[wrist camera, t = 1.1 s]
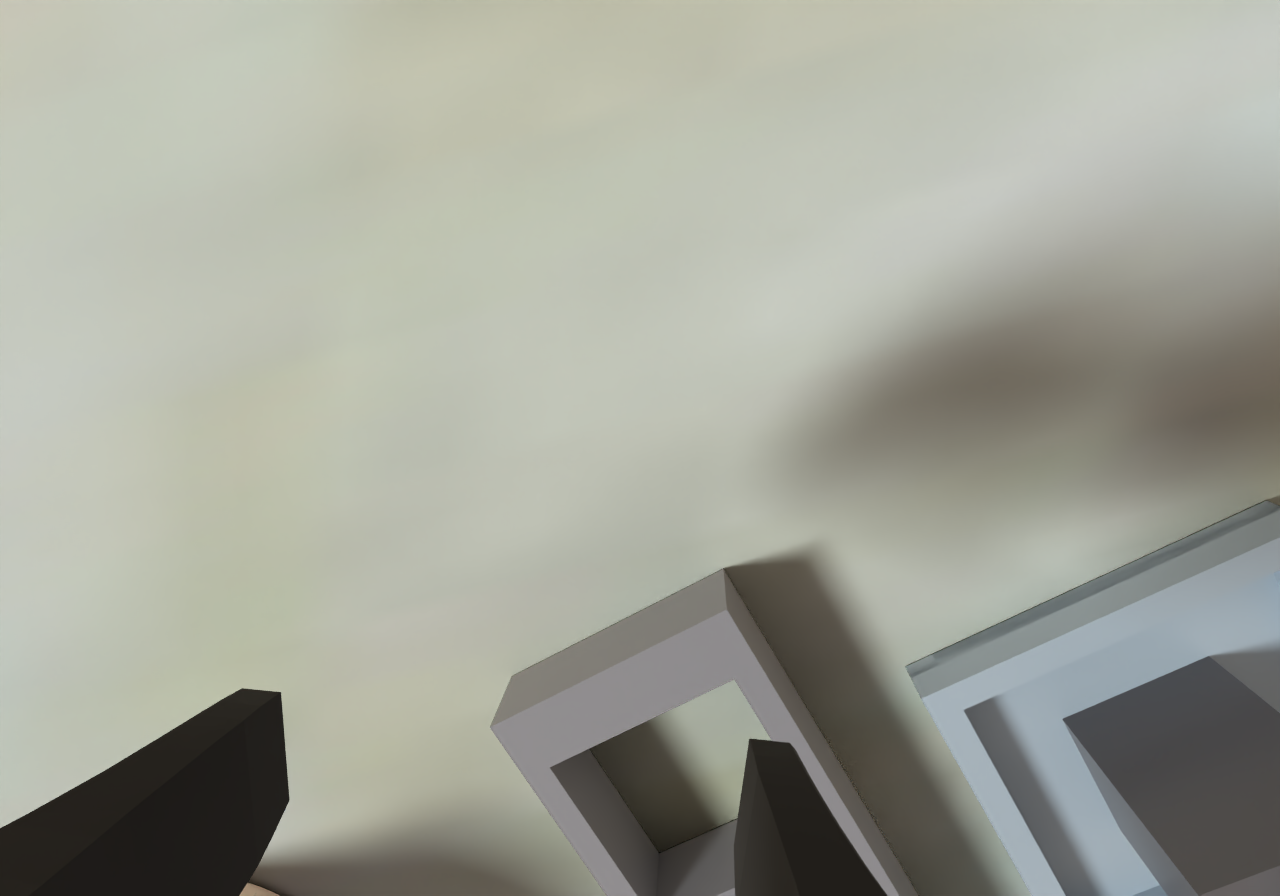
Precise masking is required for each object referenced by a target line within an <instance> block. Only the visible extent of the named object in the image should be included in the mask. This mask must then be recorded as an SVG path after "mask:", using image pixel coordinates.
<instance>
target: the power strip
mask: <svg viewBox="0 0 1280 896" xmlns="http://www.w3.org/2000/svg"><path fill="white" fill-rule="evenodd" d="M734 679H735V681H736V683H737V684H738V686H739V688H740V689H741V691H742V692H743V694H744V696H745V697H746V699H747V701H748V702H749V704H750V705H751V707H752V709H753V710H754V712H755V714H756V715H757V717H758V719H759V720H760V722H761V723H762V725H763V727H764V728H765V730H766V732H767V733H768V735H769V736H770V738H771V740H772V741H777V742H788V743H790V744H791V745H792V746H793V747H794V748H795V750H796V751H797V753H798V755H799V757H800V759H801V761H802V762H803V764H804V766H805V768H806V770H807V772H808V773H809V775H810V777H811V779H812V780H813V782H814V784H815V786H816V787H817V789H818V791H819V793H820V794H821V796H822V798H823V799H824V801H825V803H826V804H827V806H828V808H829V809H830V811H831V812H832V814H833V816H834V817H835V819H836V820H837V822H838V824H839V825H840V827H841V828H842V830H843V831H844V833H845V834H846V836H847V837H848V839H849V841H850V842H851V844H852V845H853V847H854V848H855V850H856V851H857V853H858V854H859V856H860V857H861V859H862V860H863V862H864V863H865V865H866V866H867V867H868V869H869V870H870V872H871V873H872V875H873V876H874V877H875V879H876V880H877V882H878V883H879V884H880V886H881V887H882V888H883V890H884V891H885V892H886V894H887V895H888V896H919V895H918V894H917V892H916V890H915V889H914V887H913V885H912V884H911V882H910V880H909V879H908V877H907V875H906V874H905V872H904V870H903V869H902V867H901V865H900V864H899V862H898V860H897V859H896V857H895V855H894V854H893V852H892V850H891V849H890V847H889V845H888V844H887V842H886V840H885V838H884V837H883V835H882V833H881V832H880V830H879V828H878V827H877V825H876V823H875V822H874V820H873V818H872V817H871V815H870V813H869V812H868V810H867V808H866V807H865V805H864V803H863V802H862V800H861V798H860V797H859V795H858V793H857V792H856V790H855V788H854V787H853V785H852V783H851V782H850V780H849V778H848V777H847V775H846V773H845V771H844V770H843V768H842V766H841V765H840V763H839V761H838V760H837V758H836V756H835V755H834V753H833V751H832V750H831V748H830V746H829V745H828V743H827V741H826V740H825V738H824V736H823V735H822V733H821V731H820V730H819V728H818V726H817V725H816V723H815V721H814V720H813V718H812V716H811V715H810V713H809V711H808V710H807V708H806V706H805V704H804V703H803V701H802V699H801V698H800V696H799V694H798V693H797V691H796V689H795V688H794V686H793V684H792V683H791V681H790V679H789V678H788V676H787V674H786V673H785V671H784V669H783V668H782V666H781V664H780V663H779V661H778V659H777V658H776V656H775V654H774V653H773V651H772V649H771V648H770V646H769V644H768V642H767V641H766V639H765V637H764V636H763V634H762V632H761V631H760V629H759V627H758V626H757V624H756V622H755V621H754V619H753V617H752V616H751V614H750V612H749V611H748V609H747V607H746V606H745V604H744V602H743V601H742V599H741V597H740V596H739V594H738V592H737V591H736V589H735V587H734V586H733V584H732V582H731V581H730V579H729V577H728V575H727V574H726V572H725V570H724V569H722V570H720V571H718V572H716V573H714V574H712V575H710V576H708V577H706V578H704V579H702V580H700V581H698V582H696V583H694V584H692V585H690V586H688V587H686V588H684V589H682V590H680V591H678V592H677V593H675V594H673V595H671V596H669V597H667V598H665V599H663V600H661V601H659V602H657V603H655V604H653V605H651V606H649V607H647V608H645V609H643V610H641V611H639V612H637V613H635V614H633V615H631V616H629V617H627V618H625V619H623V620H622V621H620V622H618V623H616V624H614V625H612V626H610V627H608V628H606V629H604V630H602V631H600V632H598V633H596V634H594V635H592V636H590V637H588V638H586V639H584V640H582V641H580V642H578V643H576V644H574V645H572V646H570V647H568V648H566V649H565V650H563V651H561V652H559V653H557V654H555V655H553V656H551V657H549V658H547V659H545V660H543V661H541V662H539V663H537V664H535V665H533V666H531V667H529V668H527V669H525V670H523V671H521V672H519V673H517V674H515V675H513V676H512V677H511V679H510V682H509V684H508V686H507V689H506V691H505V693H504V696H503V698H502V700H501V703H500V705H499V707H498V710H497V712H496V714H495V717H494V719H493V721H492V724H491V726H490V728H491V730H492V731H493V733H494V734H495V735H496V737H497V738H498V740H499V741H500V743H501V744H502V746H503V747H504V748H505V750H506V751H507V753H508V754H509V756H510V757H511V759H512V760H513V761H514V763H515V764H516V766H517V767H518V769H519V770H520V772H521V773H522V774H523V776H524V777H525V779H526V780H527V782H528V783H529V784H530V786H531V787H532V789H533V790H534V792H535V793H536V795H537V796H538V797H539V799H540V800H541V802H542V803H543V805H544V806H545V808H546V809H547V810H548V812H549V813H550V815H551V816H552V818H553V819H554V820H555V822H556V823H557V825H558V826H559V828H560V829H561V831H562V832H563V833H564V835H565V836H566V838H567V839H568V841H569V842H570V844H571V845H572V846H573V848H574V849H575V851H576V852H577V854H578V855H579V856H580V858H581V859H582V861H583V862H584V864H585V865H586V867H587V868H588V869H589V871H590V872H591V874H592V875H593V877H594V878H595V880H596V881H597V882H598V884H599V885H600V887H601V888H602V890H603V891H604V893H605V894H606V895H607V896H735V876H734V840H735V833H736V827H737V820H738V819H736V820H734V821H732V822H729V823H727V824H725V825H723V826H720V827H718V828H716V829H714V830H711V831H709V832H707V833H704V834H702V835H700V836H698V837H695V838H693V839H691V840H689V841H686V842H684V843H682V844H679V845H677V846H675V847H673V848H670V849H668V850H666V851H664V852H661V853H658V851H657V850H656V848H655V847H654V845H653V844H652V842H651V841H650V839H649V838H648V836H647V835H646V833H645V832H644V830H643V829H642V827H641V826H640V824H639V823H638V821H637V820H636V818H635V817H634V815H633V814H632V812H631V811H630V809H629V808H628V806H627V805H626V803H625V802H624V800H623V799H622V797H621V796H620V794H619V793H618V791H617V790H616V788H615V787H614V785H613V784H612V782H611V781H610V779H609V778H608V776H607V775H606V773H605V772H604V770H603V769H602V767H601V766H600V764H599V763H598V761H597V760H596V758H595V757H594V755H593V754H592V752H591V751H590V750H589V748H592V747H594V746H596V745H598V744H600V743H602V742H604V741H606V740H608V739H610V738H612V737H615V736H617V735H619V734H621V733H623V732H625V731H627V730H629V729H631V728H633V727H635V726H638V725H640V724H642V723H644V722H646V721H648V720H650V719H652V718H654V717H656V716H658V715H661V714H663V713H665V712H667V711H669V710H671V709H673V708H675V707H677V706H679V705H681V704H684V703H686V702H688V701H690V700H692V699H694V698H696V697H698V696H700V695H702V694H704V693H707V692H709V691H711V690H713V689H715V688H717V687H719V686H721V685H723V684H725V683H728V682H730V681H732V680H734Z"/></svg>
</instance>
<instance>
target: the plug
mask: <svg viewBox="0 0 1280 896" xmlns="http://www.w3.org/2000/svg"><path fill="white" fill-rule="evenodd" d="M1063 721H1064V723H1065V725H1066V727H1067V729H1068V731H1069V733H1070V735H1071V737H1072V739H1073V740H1074V742H1075V744H1076V746H1077V748H1078V750H1079V752H1080V754H1081V756H1082V758H1083V760H1084V762H1085V763H1086V765H1087V767H1088V769H1089V771H1090V773H1091V775H1092V777H1093V779H1094V781H1095V783H1096V784H1097V786H1098V788H1099V790H1100V792H1101V794H1102V796H1103V798H1104V800H1105V802H1106V804H1107V805H1108V807H1109V809H1110V811H1111V813H1112V815H1113V817H1114V819H1115V821H1116V823H1117V825H1118V826H1119V828H1120V830H1121V832H1122V833H1123V834H1124V836H1125V837H1126V839H1127V840H1128V841H1129V843H1130V844H1131V845H1132V847H1133V848H1134V850H1135V851H1136V852H1137V854H1138V855H1139V857H1140V858H1141V859H1142V861H1143V862H1144V863H1145V865H1146V866H1147V868H1148V869H1149V870H1150V872H1151V873H1152V875H1153V876H1154V877H1155V879H1156V880H1157V881H1158V883H1159V884H1160V886H1161V887H1162V888H1163V890H1164V891H1165V892H1166V894H1167V895H1168V896H1280V713H1279V712H1278V711H1277V710H1275V709H1274V708H1273V707H1272V706H1270V705H1269V704H1268V703H1267V702H1265V701H1264V700H1263V699H1262V698H1261V697H1259V696H1258V695H1257V694H1256V693H1254V692H1253V691H1252V690H1251V689H1249V688H1248V687H1247V686H1246V685H1244V684H1243V683H1242V682H1241V681H1239V680H1238V679H1237V678H1236V677H1234V676H1233V675H1232V674H1231V673H1229V672H1228V671H1227V670H1226V669H1224V668H1223V667H1222V666H1221V665H1219V664H1218V663H1217V662H1216V661H1214V660H1213V659H1212V658H1211V657H1209V656H1207V657H1205V658H1203V659H1200V660H1198V661H1196V662H1193V663H1191V664H1189V665H1187V666H1184V667H1182V668H1180V669H1177V670H1175V671H1173V672H1170V673H1168V674H1166V675H1163V676H1161V677H1159V678H1156V679H1154V680H1152V681H1149V682H1147V683H1145V684H1142V685H1140V686H1138V687H1135V688H1133V689H1131V690H1128V691H1126V692H1124V693H1121V694H1119V695H1117V696H1114V697H1112V698H1110V699H1107V700H1105V701H1103V702H1100V703H1098V704H1096V705H1093V706H1091V707H1089V708H1086V709H1084V710H1082V711H1079V712H1077V713H1075V714H1072V715H1070V716H1068V717H1065V718H1063Z"/></svg>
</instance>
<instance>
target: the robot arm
mask: <svg viewBox="0 0 1280 896" xmlns="http://www.w3.org/2000/svg"><path fill="white" fill-rule="evenodd" d="M288 802H289V790H288V777H287V764H286V752H285V739H284V726H283V713H282V701H281V692H272V691H262V690H252V689H240V690H238V691H237V692H235V693H233V694H231V695H229V696H227V697H226V698H224V699H222V700H221V701H219V702H217V703H216V704H214V705H212V706H211V707H209V708H207V709H206V710H204V711H202V712H201V713H199V714H197V715H196V716H194V717H192V718H191V719H189V720H188V721H186V722H184V723H183V724H181V725H179V726H178V727H176V728H175V729H173V730H171V731H170V732H168V733H166V734H165V735H163V736H162V737H160V738H158V739H157V740H155V741H153V742H152V743H150V744H148V745H147V746H145V747H143V748H142V749H140V750H138V751H137V752H135V753H133V754H132V755H130V756H129V757H127V758H125V759H124V760H122V761H120V762H119V763H117V764H115V765H114V766H112V767H110V768H109V769H107V770H105V771H104V772H102V773H100V774H98V775H96V776H95V777H93V778H91V779H89V780H87V781H86V782H84V783H82V784H80V785H79V786H77V787H75V788H73V789H71V790H70V791H68V792H66V793H64V794H63V795H61V796H59V797H57V798H55V799H54V800H52V801H50V802H48V803H46V804H45V805H43V806H41V807H39V808H38V809H36V810H34V811H32V812H30V813H29V814H27V815H25V816H23V817H21V818H19V819H17V820H15V821H13V822H11V823H10V824H8V825H6V826H4V827H2V828H0V896H239V895H240V894H241V892H242V891H243V889H244V887H245V886H246V884H247V883H248V881H249V879H250V878H251V876H252V875H253V873H254V871H255V870H256V868H257V866H258V865H259V863H260V861H261V859H262V857H263V854H264V852H265V850H266V848H267V846H268V844H269V842H270V840H271V838H272V836H273V834H274V832H275V830H276V828H277V826H278V823H279V821H280V819H281V817H282V815H283V813H284V811H285V808H286V806H287V804H288ZM734 876H735V896H888V895H887V894H886V892H885V891H884V890H883V888H882V887H881V886H880V884H879V883H878V882H877V880H876V879H875V877H874V876H873V875H872V873H871V872H870V870H869V869H868V867H867V866H866V865H865V863H864V862H863V860H862V859H861V857H860V856H859V854H858V853H857V851H856V850H855V848H854V847H853V845H852V844H851V842H850V841H849V839H848V837H847V836H846V834H845V833H844V831H843V830H842V828H841V827H840V825H839V824H838V822H837V820H836V819H835V817H834V816H833V814H832V812H831V811H830V809H829V808H828V806H827V804H826V803H825V801H824V799H823V798H822V796H821V794H820V793H819V791H818V789H817V787H816V786H815V784H814V782H813V780H812V779H811V777H810V775H809V773H808V772H807V770H806V768H805V766H804V764H803V762H802V761H801V759H800V757H799V755H798V753H797V751H796V750H795V748H794V747H793V746H792V745H791V744H790V743H788V742H777V741H767V740H757V739H749V745H748V752H747V759H746V765H745V772H744V779H743V786H742V793H741V799H740V806H739V813H738V820H737V827H736V833H735V840H734Z"/></svg>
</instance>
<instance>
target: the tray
mask: <svg viewBox="0 0 1280 896" xmlns="http://www.w3.org/2000/svg"><path fill="white" fill-rule="evenodd" d="M1207 656H1209V657H1211V658H1212V659H1213V660H1214V661H1216V662H1217V663H1218V664H1219V665H1221V666H1222V667H1223V668H1224V669H1226V670H1227V671H1228V672H1229V673H1231V674H1232V675H1233V676H1234V677H1236V678H1237V679H1238V680H1239V681H1241V682H1242V683H1243V684H1244V685H1246V686H1247V687H1248V688H1249V689H1251V690H1252V691H1253V692H1254V693H1256V694H1257V695H1258V696H1259V697H1261V698H1262V699H1263V700H1264V701H1265V702H1267V703H1268V704H1269V705H1270V706H1272V707H1273V708H1274V709H1275V710H1277V711H1278V712H1279V713H1280V506H1278V505H1276V504H1274V503H1271V502H1269V501H1267V500H1266V501H1264V502H1262V503H1260V504H1258V505H1256V506H1253V507H1251V508H1249V509H1247V510H1245V511H1243V512H1240V513H1238V514H1236V515H1234V516H1232V517H1230V518H1227V519H1225V520H1223V521H1221V522H1219V523H1216V524H1214V525H1212V526H1210V527H1208V528H1206V529H1203V530H1201V531H1199V532H1197V533H1195V534H1193V535H1190V536H1188V537H1186V538H1184V539H1182V540H1180V541H1177V542H1175V543H1173V544H1171V545H1169V546H1167V547H1164V548H1162V549H1160V550H1158V551H1156V552H1153V553H1151V554H1149V555H1147V556H1145V557H1143V558H1140V559H1138V560H1136V561H1134V562H1132V563H1130V564H1127V565H1125V566H1123V567H1121V568H1119V569H1117V570H1114V571H1112V572H1110V573H1108V574H1106V575H1104V576H1101V577H1099V578H1097V579H1095V580H1093V581H1090V582H1088V583H1086V584H1084V585H1082V586H1080V587H1077V588H1075V589H1073V590H1071V591H1069V592H1067V593H1064V594H1062V595H1060V596H1058V597H1056V598H1054V599H1051V600H1049V601H1047V602H1045V603H1043V604H1041V605H1038V606H1036V607H1034V608H1032V609H1030V610H1027V611H1025V612H1023V613H1021V614H1019V615H1017V616H1014V617H1012V618H1010V619H1008V620H1006V621H1004V622H1001V623H999V624H997V625H995V626H993V627H991V628H988V629H986V630H984V631H982V632H980V633H978V634H975V635H973V636H971V637H969V638H967V639H964V640H962V641H960V642H958V643H956V644H954V645H951V646H949V647H947V648H945V649H943V650H941V651H938V652H936V653H934V654H932V655H930V656H928V657H925V658H923V659H921V660H919V661H917V662H915V663H912V664H910V665H908V666H906V669H907V671H908V673H909V675H910V677H911V679H912V681H913V683H914V685H915V687H916V689H917V691H918V693H919V695H920V697H921V699H922V701H923V703H924V705H925V706H926V708H927V710H928V712H929V714H930V715H931V717H932V719H933V721H934V722H935V724H936V726H937V728H938V730H939V731H940V733H941V735H942V737H943V738H944V740H945V742H946V744H947V746H948V747H949V749H950V751H951V753H952V754H953V756H954V758H955V760H956V762H957V763H958V765H959V767H960V769H961V771H962V772H963V774H964V776H965V778H966V779H967V781H968V783H969V785H970V787H971V788H972V790H973V792H974V794H975V795H976V797H977V799H978V801H979V803H980V804H981V806H982V808H983V810H984V811H985V813H986V815H987V817H988V819H989V820H990V822H991V824H992V826H993V828H994V829H995V831H996V833H997V835H998V836H999V838H1000V840H1001V842H1002V844H1003V845H1004V847H1005V849H1006V851H1007V852H1008V854H1009V856H1010V858H1011V860H1012V861H1013V863H1014V865H1015V867H1016V868H1017V870H1018V872H1019V874H1020V876H1021V877H1022V879H1023V881H1024V883H1025V884H1026V886H1027V888H1028V890H1029V892H1030V893H1031V895H1032V896H1168V895H1167V894H1166V892H1165V891H1164V890H1163V888H1162V887H1161V886H1160V884H1159V883H1158V881H1157V880H1156V879H1155V877H1154V876H1153V875H1152V873H1151V872H1150V870H1149V869H1148V868H1147V866H1146V865H1145V863H1144V862H1143V861H1142V859H1141V858H1140V857H1139V855H1138V854H1137V852H1136V851H1135V850H1134V848H1133V847H1132V845H1131V844H1130V843H1129V841H1128V840H1127V839H1126V837H1125V836H1124V834H1123V833H1122V832H1121V830H1120V828H1119V826H1118V825H1117V823H1116V821H1115V819H1114V817H1113V815H1112V813H1111V811H1110V809H1109V807H1108V805H1107V804H1106V802H1105V800H1104V798H1103V796H1102V794H1101V792H1100V790H1099V788H1098V786H1097V784H1096V783H1095V781H1094V779H1093V777H1092V775H1091V773H1090V771H1089V769H1088V767H1087V765H1086V763H1085V762H1084V760H1083V758H1082V756H1081V754H1080V752H1079V750H1078V748H1077V746H1076V744H1075V742H1074V740H1073V739H1072V737H1071V735H1070V733H1069V731H1068V729H1067V727H1066V725H1065V723H1064V721H1063V718H1065V717H1068V716H1070V715H1072V714H1075V713H1077V712H1079V711H1082V710H1084V709H1086V708H1089V707H1091V706H1093V705H1096V704H1098V703H1100V702H1103V701H1105V700H1107V699H1110V698H1112V697H1114V696H1117V695H1119V694H1121V693H1124V692H1126V691H1128V690H1131V689H1133V688H1135V687H1138V686H1140V685H1142V684H1145V683H1147V682H1149V681H1152V680H1154V679H1156V678H1159V677H1161V676H1163V675H1166V674H1168V673H1170V672H1173V671H1175V670H1177V669H1180V668H1182V667H1184V666H1187V665H1189V664H1191V663H1193V662H1196V661H1198V660H1200V659H1203V658H1205V657H1207Z"/></svg>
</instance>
